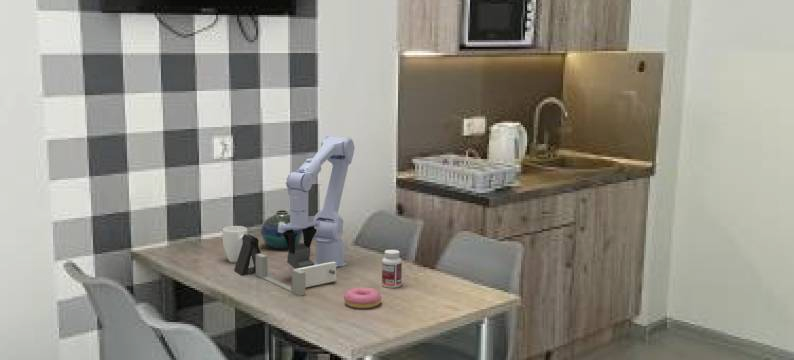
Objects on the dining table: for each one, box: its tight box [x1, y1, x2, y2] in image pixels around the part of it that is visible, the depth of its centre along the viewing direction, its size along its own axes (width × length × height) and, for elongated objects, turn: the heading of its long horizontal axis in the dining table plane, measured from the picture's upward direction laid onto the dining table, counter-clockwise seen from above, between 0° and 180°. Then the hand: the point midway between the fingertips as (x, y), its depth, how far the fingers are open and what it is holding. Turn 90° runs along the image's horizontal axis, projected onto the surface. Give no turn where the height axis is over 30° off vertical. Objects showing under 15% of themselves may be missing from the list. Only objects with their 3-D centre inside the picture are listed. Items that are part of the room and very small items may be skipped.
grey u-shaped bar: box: [255, 253, 306, 297], centre depth 251 cm, size 2×26×7 cm, turn 40°
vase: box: [260, 210, 303, 250], centre depth 296 cm, size 15×15×13 cm
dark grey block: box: [286, 242, 314, 269], centre depth 257 cm, size 5×8×6 cm, turn 39°
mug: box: [222, 225, 248, 264], centre depth 275 cm, size 12×8×11 cm
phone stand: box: [233, 233, 262, 276], centre depth 264 cm, size 9×6×12 cm, turn 125°
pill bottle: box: [381, 249, 403, 289], centre depth 253 cm, size 6×6×11 cm
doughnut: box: [343, 286, 382, 309], centre depth 235 cm, size 11×11×4 cm
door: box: [294, 262, 337, 288], centre depth 250 cm, size 3×15×6 cm, turn 130°
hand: (299, 251), depth 257 cm, fingers closed on dark grey block, 5 cm apart
